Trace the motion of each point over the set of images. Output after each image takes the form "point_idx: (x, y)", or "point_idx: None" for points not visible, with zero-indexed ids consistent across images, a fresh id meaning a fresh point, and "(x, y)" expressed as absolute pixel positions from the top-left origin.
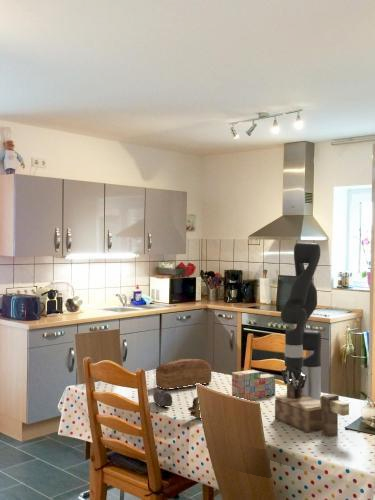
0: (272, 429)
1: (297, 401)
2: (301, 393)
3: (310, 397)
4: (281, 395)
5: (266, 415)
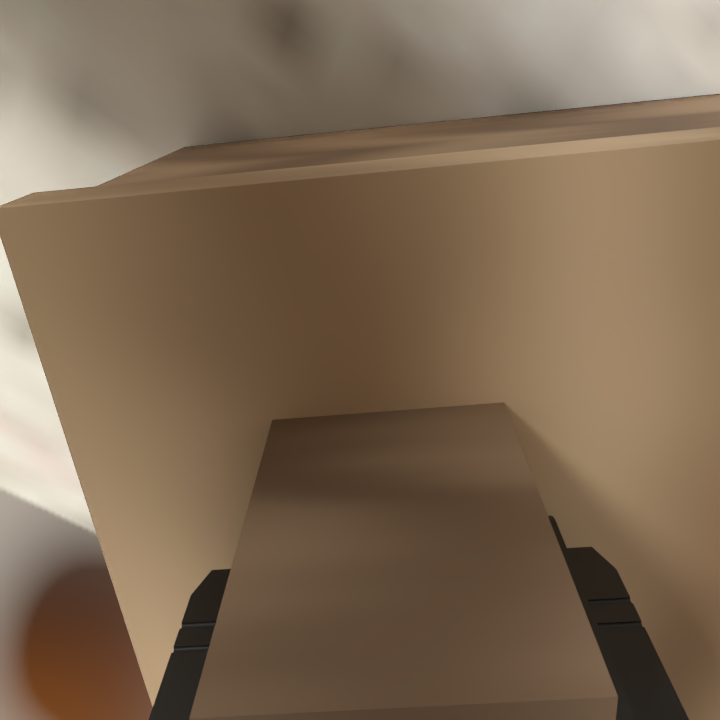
0: None
1: (713, 654)
2: (529, 480)
3: (633, 173)
4: (151, 680)
5: (84, 519)
